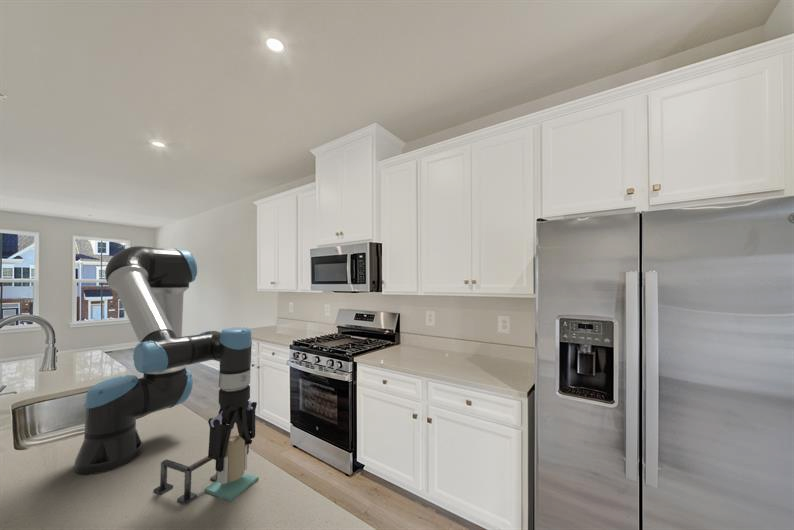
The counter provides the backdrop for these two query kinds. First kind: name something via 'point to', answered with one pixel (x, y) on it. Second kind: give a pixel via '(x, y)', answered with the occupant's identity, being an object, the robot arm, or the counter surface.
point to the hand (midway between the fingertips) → (232, 474)
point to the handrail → (187, 470)
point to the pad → (231, 487)
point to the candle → (235, 458)
